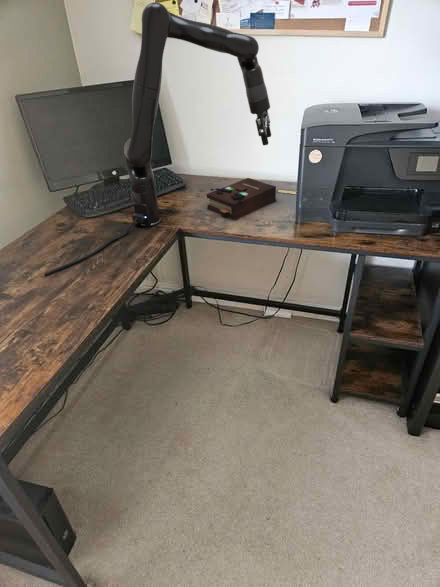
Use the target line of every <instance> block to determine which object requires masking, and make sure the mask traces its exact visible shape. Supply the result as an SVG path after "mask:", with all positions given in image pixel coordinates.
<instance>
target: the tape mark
mask: <svg viewBox="0 0 440 587" xmlns="http://www.w3.org/2000/svg"><path fill="white" fill-rule="evenodd" d="M296 192H297V191H293V190H283V189H279V190H277V193H280V194H290V195H297V194H296Z"/></svg>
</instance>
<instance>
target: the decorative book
mask: <svg viewBox="0 0 440 587" xmlns="http://www.w3.org/2000/svg"><path fill="white" fill-rule="evenodd" d="M209 191H210V192H208V193H206V199H208V200H207V202H208V203H209V204H207V210H209V211H211V212H214V213H216V214H219V215H221V216H224V217H226V218H229V219H231V220H233V221H235V220H238V219H240V218H242V217H244V216H246V215H248V214H251V213H253V212H255V211H258V210H260V209H262V208H264V207H266V206H268V205H271V204H273V203H275V202H276V198H277V197H276V196H277V186H275V185H272V184H269V183H266V182H263V181H259V180H256V179H253V178H250V177H247V178H244V179H241V180H239V181H236V182H234V183H231V184H229V185H227V186H224V187H221V188H210V189H209Z"/></svg>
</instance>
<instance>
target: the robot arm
mask: <svg viewBox="0 0 440 587" xmlns="http://www.w3.org/2000/svg"><path fill="white" fill-rule="evenodd" d="M169 38H170V39H176V40H180V41H184V42H187V43H190V44H194V45H196V46H199V47H201V48H204V49H208V50H211V51H214V52H216V53H217V52H218V53H222V54H227V55H231V56H233V57H236V58H237V61H238V64H239V67H240V70H241V74H242V79H243V83H244V86H245V93H246V98H247V102H248V107H249V111H250V114H252V115H256V119H255V124H256V129H257V135H258V137H260V139H261V143H262V146H268V145H269V139H268V138H271V137H272V131H271V119H270V114H269V110H270V109H271V103H270V98H269V94H268V88H267V86H266V83H265V78H264V73H263V70H262V67H261V65H260V64H259V60H258V57H257V55H258V54H259V51H260V50H259V49H260V47H259V42H258V40H257V39H256V38H255V37H254V36H252V35H248V34H244V33H238V32H234V31H231V30H229V29H227V28H225V27H221V26H218V25H215V24H211V23H206V22H202V21H196V20H192V19H187V18H184V17H181V16H179V15H177V14H175V13H172V12H171V11H169V10H168V9H167V7H166V6H165V5H164V4H162V3H160V2H158V1H157V2H150V3H148V4H147V5H146V6H145V7H144V9H143V11H142V13H141V41H140V42H141V43H140V44H141V45H140V51H139V56H138V61H137V64H136V69H135V73H134V78H133V86H132V94H131V113H132V114H131V115H132V128H131V129H132V130H131V134H130V135H131V136H130V138H128V140H126V142H125V143H124V146H123V153H124V159H125V164H126V169H127V173H128V177H129V181H130V186H131V192H132V197H133V201H134V202H133V210H134V213H133V214H131V219H132V222H130V224H129V225H128V226H127V227H126V230H125V231H124V232H123V233H122V234H120V235H117V236H115V237H113V238H111V239H109V240H108V241H106V242H105V243H104V244H102V245H101V246H100V247H98V248H97V249H95V250H93V251H92V252H90V253H88V254H86V255H83V256H82V257H80V258H78V259H75V260H73V261H71V262H68V263H66V264H63V265H60V266H58V267H56V268H54V269H51V270H49V271H46V272H43V273H44V274H43V275H44V276H45V277H46V276H49V275H51V274H53V273H56V272H58V271H60V270H62V269H65V268H67V267H70V266H73V265H75V264H78V263H79V262H82V261H84V260H86V259H88V258H90V257H92V256H93V255H96V254H97V253H98V252H99V251H102V250H104V248H106V247H107V246H108V245H109V244H111V243H113V242H114V241H117V240H119V239H121V238H123V237H124V236H126V235H127V234H128V233H129V231H130V229H131V228H132V226H134V224H135V223H136V225H137V226H140V227H146V228H151V227H153V226H156V225H158V224H160V223H161V222H162V221H161V219H162V218H161V215H160V214H161V213H160V206H159V201H158V195H157V194H158V193H157V188H156V181H155V175H154V172H153V168H152V164H151V159H152V157H153V156H152V155H153V138H154V137H153V134H154V127H155V122H156V118H157V114H158V113H157V112H158V107H159V101H160V95H161V90H162V89H161V88H162V79H163V61H164V60H163V59H164V53H165V48H166V44H167V43H166V42H167V39H169Z"/></svg>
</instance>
